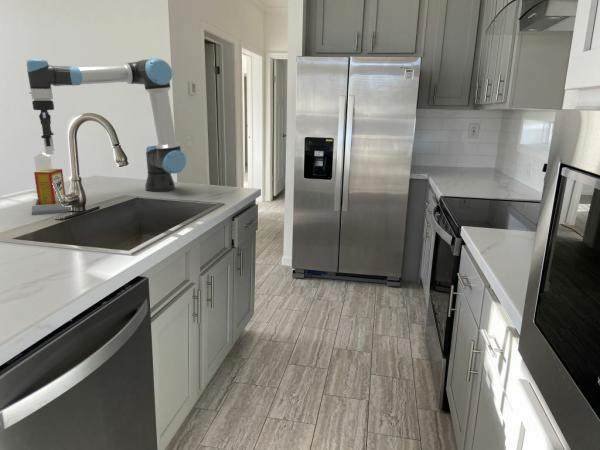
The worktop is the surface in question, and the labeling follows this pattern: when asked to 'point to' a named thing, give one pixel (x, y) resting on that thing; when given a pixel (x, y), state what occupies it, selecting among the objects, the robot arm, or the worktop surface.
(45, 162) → the long grey-white prism
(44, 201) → the baking soda box
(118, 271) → the worktop surface
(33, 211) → the dock
